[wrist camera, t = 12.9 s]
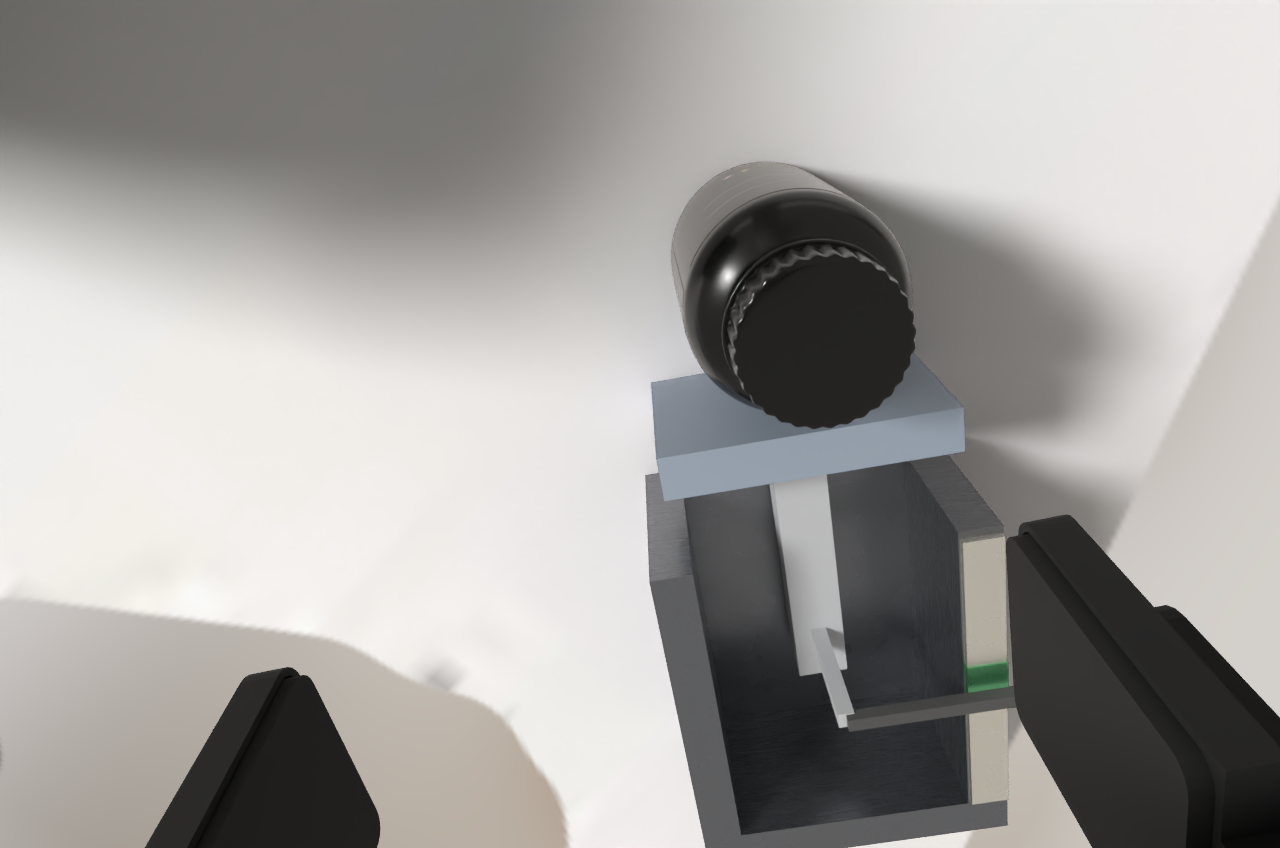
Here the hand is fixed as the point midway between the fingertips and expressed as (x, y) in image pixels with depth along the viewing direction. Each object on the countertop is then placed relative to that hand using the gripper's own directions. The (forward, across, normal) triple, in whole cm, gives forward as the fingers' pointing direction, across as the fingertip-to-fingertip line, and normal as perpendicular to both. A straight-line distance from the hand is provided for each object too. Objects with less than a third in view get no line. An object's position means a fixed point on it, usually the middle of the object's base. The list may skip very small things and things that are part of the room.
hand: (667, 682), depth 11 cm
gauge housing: (+24, -4, +17) cm, 29 cm away
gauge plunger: (+23, -5, +12) cm, 26 cm away
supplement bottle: (+24, -4, +1) cm, 25 cm away
